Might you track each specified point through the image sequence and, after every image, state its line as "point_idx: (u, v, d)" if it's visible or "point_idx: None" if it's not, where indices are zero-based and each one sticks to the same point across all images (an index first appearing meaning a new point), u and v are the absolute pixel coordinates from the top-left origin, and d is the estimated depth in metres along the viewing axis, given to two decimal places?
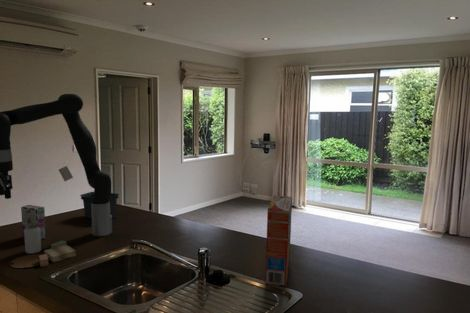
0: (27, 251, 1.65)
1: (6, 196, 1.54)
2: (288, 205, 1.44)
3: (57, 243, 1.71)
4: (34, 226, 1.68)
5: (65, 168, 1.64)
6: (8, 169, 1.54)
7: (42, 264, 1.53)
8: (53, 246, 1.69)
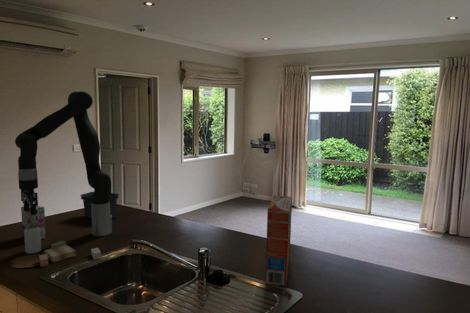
0: (27, 251, 1.65)
1: (32, 213, 1.62)
2: (288, 205, 1.44)
3: (57, 243, 1.71)
4: (34, 226, 1.68)
5: (95, 248, 1.66)
6: (34, 187, 1.63)
7: (42, 264, 1.53)
8: (53, 246, 1.69)
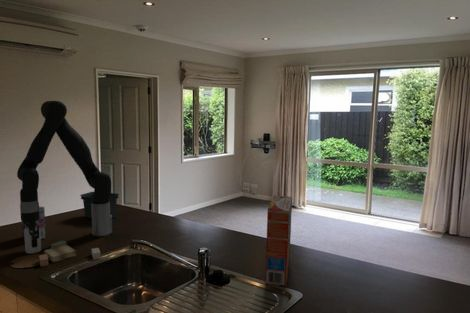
0: (27, 251, 1.65)
1: (33, 245, 1.64)
2: (288, 205, 1.44)
3: (57, 243, 1.71)
4: None
5: (96, 248, 1.66)
6: (36, 219, 1.65)
7: (42, 264, 1.53)
8: (53, 246, 1.69)
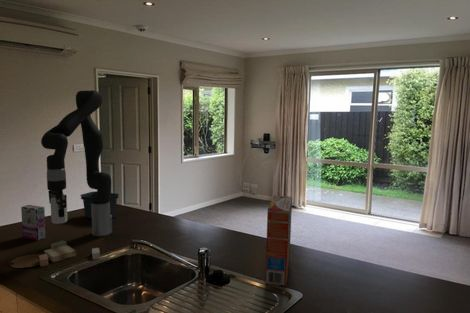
0: (53, 221, 1.59)
1: (60, 215, 1.58)
2: (288, 205, 1.44)
3: (57, 243, 1.71)
4: None
5: (96, 248, 1.66)
6: (63, 188, 1.58)
7: (42, 264, 1.53)
8: (53, 246, 1.69)
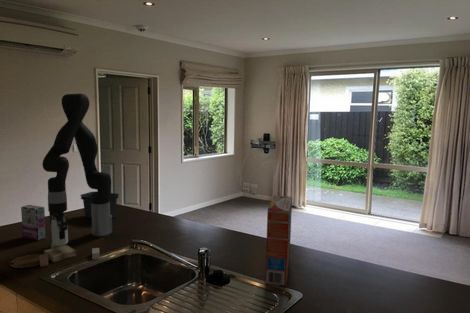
0: (54, 243, 1.60)
1: (61, 237, 1.59)
2: (288, 205, 1.44)
3: None
4: None
5: (96, 248, 1.66)
6: (63, 210, 1.60)
7: (42, 264, 1.53)
8: (52, 246, 1.69)
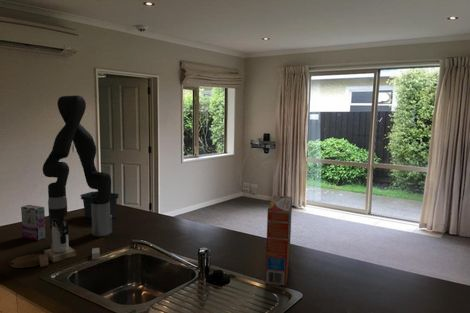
0: (55, 250, 1.61)
1: (62, 241, 1.59)
2: (288, 205, 1.44)
3: None
4: None
5: (96, 248, 1.66)
6: (64, 215, 1.60)
7: (42, 264, 1.53)
8: (52, 246, 1.69)
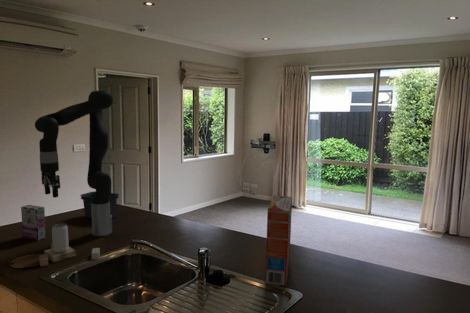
0: (55, 250, 1.61)
1: (54, 195, 1.64)
2: (288, 205, 1.44)
3: None
4: (62, 224, 1.64)
5: (97, 248, 1.66)
6: (55, 170, 1.65)
7: (42, 264, 1.53)
8: (52, 246, 1.70)
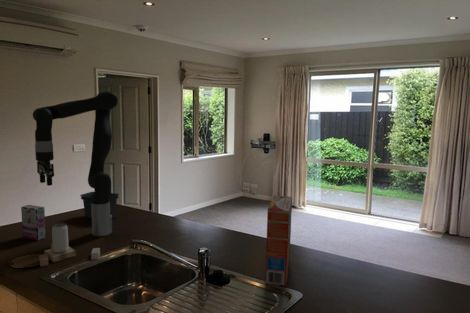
0: (55, 250, 1.61)
1: (48, 183, 1.70)
2: (288, 205, 1.44)
3: None
4: (62, 224, 1.64)
5: (97, 248, 1.66)
6: (50, 159, 1.70)
7: (42, 264, 1.53)
8: (52, 246, 1.70)
